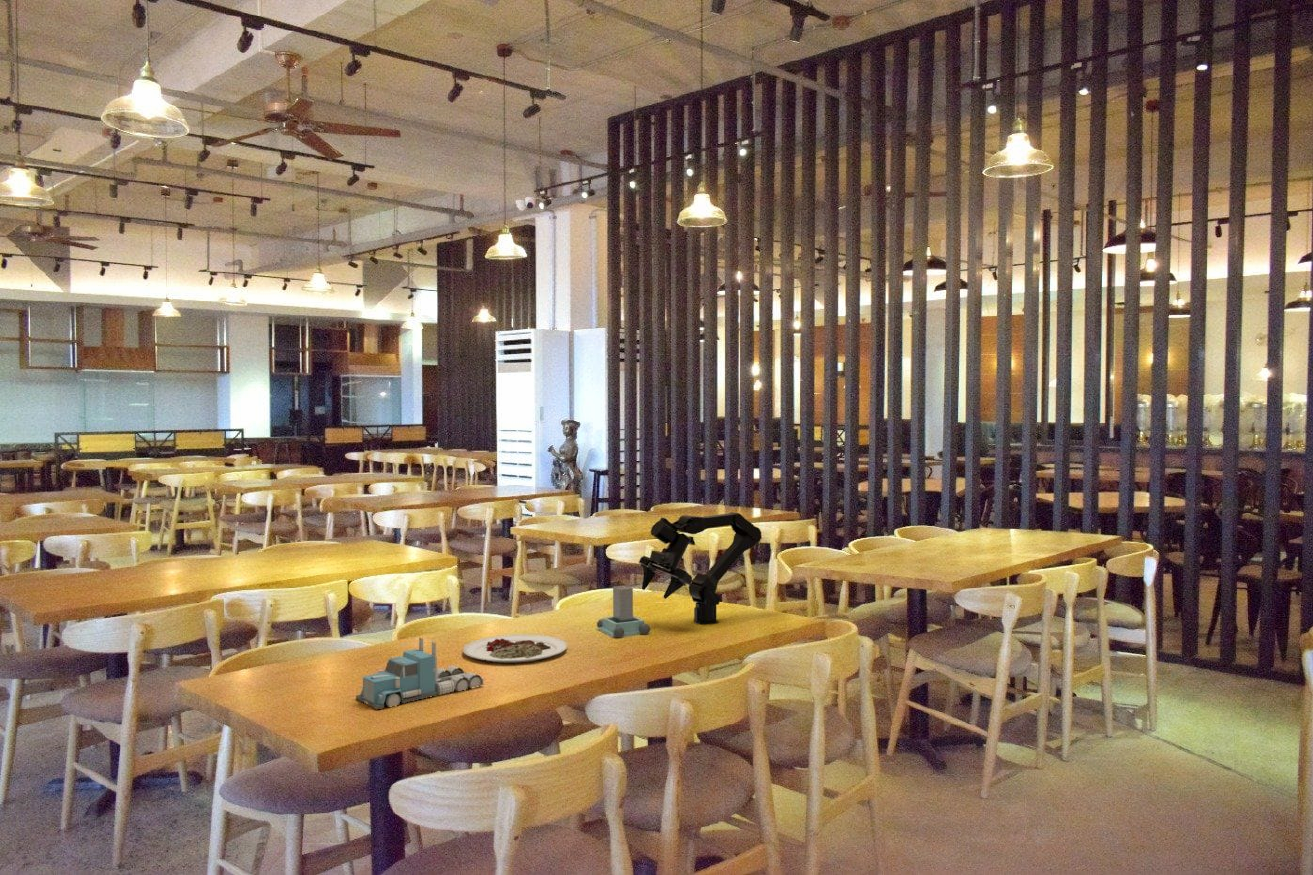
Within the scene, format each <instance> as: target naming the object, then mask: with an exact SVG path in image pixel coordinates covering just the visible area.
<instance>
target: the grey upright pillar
mask: <svg viewBox="0 0 1313 875" xmlns="http://www.w3.org/2000/svg"><path fill="white" fill-rule="evenodd" d="M633 592H634V589H633V588H632V587H630V586H627V585H621V586H613V587H612V597H613V598H612V610H613V611H612V612H613V613H612V617H613V621H614V622H616V623H622V622H630V621H633V616H634V599H633V598H634V593H633Z"/></svg>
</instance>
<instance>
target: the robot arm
mask: <svg viewBox="0 0 1313 875" xmlns="http://www.w3.org/2000/svg"><path fill="white" fill-rule="evenodd" d="M728 526H730V527H731V529H732V531H733V532H734V533H735V534H734V535H733V540H732V543H730V545H729V546H728V547H727V549H726V550H725V551H724V552H723V554H722V555H721V556H720V557H719V558H718V559H717V560H716V561H715V562H714V564H713V565H712V566H711V567H710V569H709V570H708V571H707V572H706V573H701V572H697V574H696V575H695V576H694V578H693V576H692V575H691V574H690V573H688V572H687V570H684V569H681V568H679V567H678V566H679V564H680V562H682V563H683V562H684V558H683V556H684V554H685V552H686V550H687V548H688V547H689V545H691V546H695V545H696V542H695V539H694V537H693V536H690V535H697V534H700V533H703V532H704V531H705V530H707V529H713V528H722V527H728ZM679 532H680V533H679ZM687 534H689V536H688V535H687ZM650 535H651V536H652V537H654V538H656V540H659V541H660V542H661V543H663V544H664V545H667V544H668V545H667V547H666V548H665V547H664V548H662V550H661V551H659V550H651V552H650V557H649V556H646V555H643V556H641V557H640V559H639V560H638V563H639V564H640V568H642V571H643V577H642V578H643V579H642V582H641V583H642V585H641V589H642V591H645V590H646V589H647V587H648V586H649V585H650V583H651V582H652V580H653V579H654V577H655V575H656V571H659V572H661V573H662V572H663V573H664V574H668V575H670V582H669V584H668V586H667V588H666V590H665V592H664V595H663V599H665V600H666V599H667V598H668V597H670V596H672V595H673V594H674V593H675V592H676V591H678V590H679V589H681V588H683V587H686V586H687V585H688V593H689V595H690V596H691V598H692V601H693V603H695V607H693V608H694V609H693V610H694V612H693V621H694V622H696V623H698V624H699V625H704V624H705V625H706V624H714V623H719V620H717V605H720V601H721V597H720V596H719V595H718V594H717V593H716V591H717V589H718V585H719V582H720V580H722V578H723V577H724V576H725V575H726V573H727V572H728V571H729V570H730V569H731V568H732V566H733V565H734V564H735V563H736V562H737V560H738V559H739V558H740V557H741V556H742V555H743V554H744V552H745V551H749V550H750V549H752V548H754V547H755V546H756V545H757V544H759V542H761V540H762V531H761V529H760V528H759V527H757V526H755V525H754V523H752V522H751V521H749V520H748V519H746V518H745V517H744V516H743V515H742V514H741V513H738V512H732V511H731V512H728V513H721V514H714V515H713V514H712V515H706V516H699V515H698V516H697V515H687V514H686V515H685V514H684V515H680V517H679V518H678V520H675V521H673V522H670V521H669V520H668V518H665V517H660V519H659V520H658V521H656V522H655V523H654V524H653V525H652V527H651V529H650Z"/></svg>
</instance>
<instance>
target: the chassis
mask: <svg viewBox="0 0 1313 875" xmlns="http://www.w3.org/2000/svg"><path fill="white" fill-rule="evenodd" d="M596 627H597V628H598V631H600V632H601V633H603V634H606V635H608V637H611V638H617V639H620V638H621V639H622V638H623V637H629V636H636V635H637V636H638V635H645V636H646V635H649V633H650V632H651V627H650V625H649V624H647V623H645V620H644V619H641V618H639V617H637V616H634V615H633V621H630V622H622V623H616V622H614V621H613V616H609V617H607V616H606V617H602V618H600V619H599V620H598V621H597V622H596Z"/></svg>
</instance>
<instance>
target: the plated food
mask: <svg viewBox="0 0 1313 875" xmlns="http://www.w3.org/2000/svg"><path fill="white" fill-rule="evenodd" d="M567 648H568V643H567V642H566V641H564V640H563V639H561V638H558V637H553V636H550V635H543V634H505V635H504V634H503V635H496V636H489V637H485V638H481V639H477V640H473V641H471V642H469V643H467V644H466V645H464V646H463V647H462V651H463V654H465V656H467V657H470V658H473V659H475V660H476V659H477V660H483V661H485V660H486V662H491V661H492V663H503V664H504V663H505V664H508V663H513V664H514V663H525V662H534V661H539V660H542V659H546V658H550V657H553V656H556V655H560V654H561V653H563V652H564V651H566V650H567Z"/></svg>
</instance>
